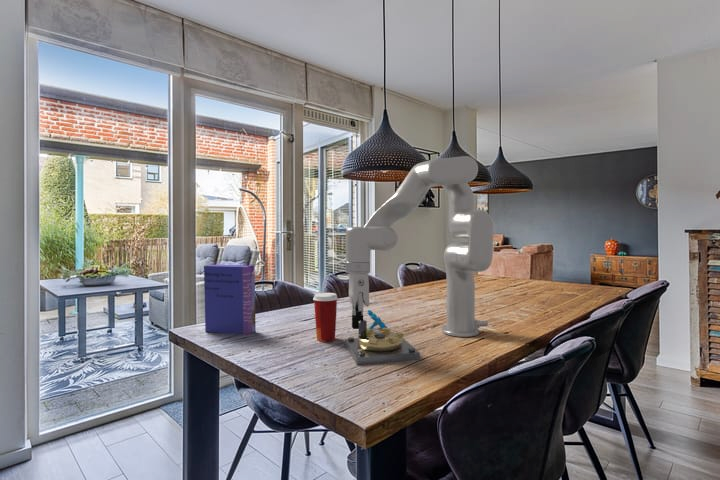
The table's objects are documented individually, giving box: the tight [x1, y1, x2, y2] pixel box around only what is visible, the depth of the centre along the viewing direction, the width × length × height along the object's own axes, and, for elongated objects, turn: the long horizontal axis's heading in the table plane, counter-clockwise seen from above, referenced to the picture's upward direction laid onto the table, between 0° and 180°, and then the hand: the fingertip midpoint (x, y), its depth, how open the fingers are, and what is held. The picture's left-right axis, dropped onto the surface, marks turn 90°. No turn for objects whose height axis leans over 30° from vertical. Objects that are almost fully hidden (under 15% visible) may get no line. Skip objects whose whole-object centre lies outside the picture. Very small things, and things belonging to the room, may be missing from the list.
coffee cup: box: [312, 292, 339, 343], centre depth 131 cm, size 8×8×15 cm
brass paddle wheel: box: [357, 319, 404, 351], centre depth 118 cm, size 13×13×7 cm
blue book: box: [203, 264, 257, 336], centre depth 142 cm, size 17×5×24 cm, turn 74°
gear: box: [367, 309, 388, 330], centre depth 141 cm, size 11×6×10 cm
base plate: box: [344, 337, 421, 365], centre depth 118 cm, size 18×18×3 cm
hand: (357, 328), depth 120 cm, fingers closed
